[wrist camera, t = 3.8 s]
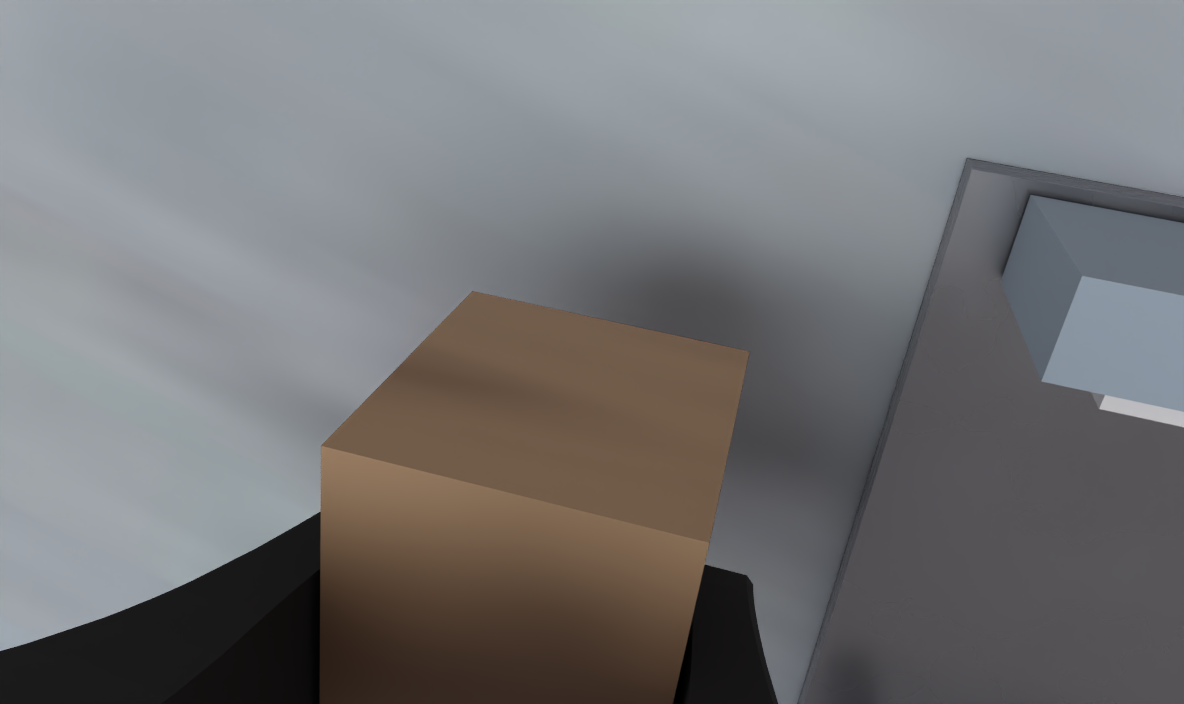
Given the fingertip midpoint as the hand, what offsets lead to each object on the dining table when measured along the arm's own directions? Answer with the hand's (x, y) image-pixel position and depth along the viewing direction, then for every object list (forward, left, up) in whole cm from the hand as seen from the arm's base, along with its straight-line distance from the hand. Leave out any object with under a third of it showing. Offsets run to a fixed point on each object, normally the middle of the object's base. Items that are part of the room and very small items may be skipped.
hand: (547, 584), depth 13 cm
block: (0, 0, -2) cm, 2 cm away
